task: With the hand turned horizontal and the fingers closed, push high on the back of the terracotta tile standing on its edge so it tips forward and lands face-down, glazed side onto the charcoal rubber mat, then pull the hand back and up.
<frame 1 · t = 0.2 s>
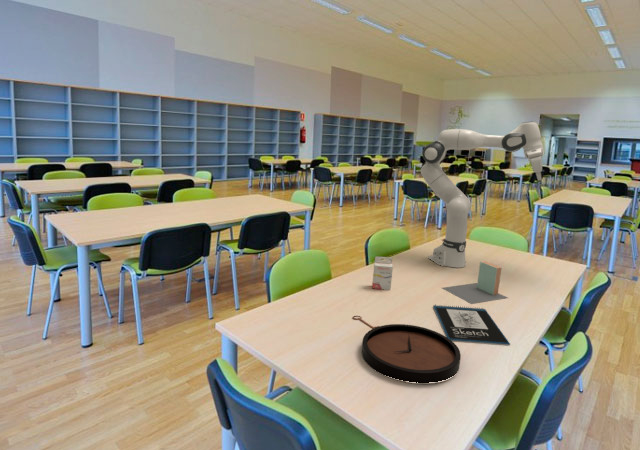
hand: (539, 179, 210), 52 cm above the table, tool tilted 20°, fingers open, 8 cm apart
tile: (487, 290, 196), point 1 cm above the table, touching mat
sketchbook: (467, 325, 161), on the table
mat: (473, 293, 193), on the table
key: (368, 324, 158), on the table
wall clock: (409, 357, 136), on the table
ink cartridge box: (381, 288, 196), on the table
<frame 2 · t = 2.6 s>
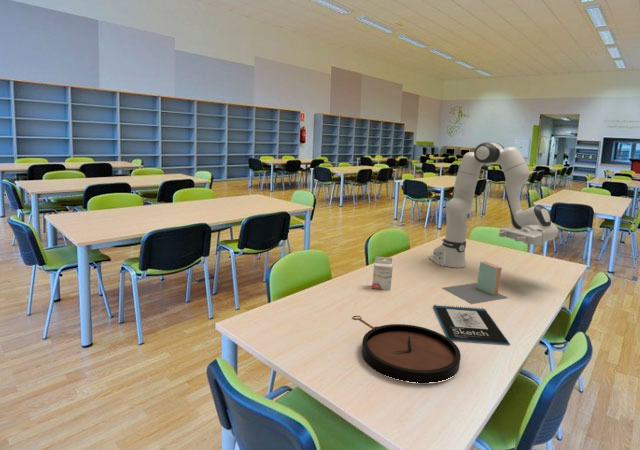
hand: (507, 237, 194), 26 cm above the table, tool horizontal, fingers open, 8 cm apart
nothing on the table moved.
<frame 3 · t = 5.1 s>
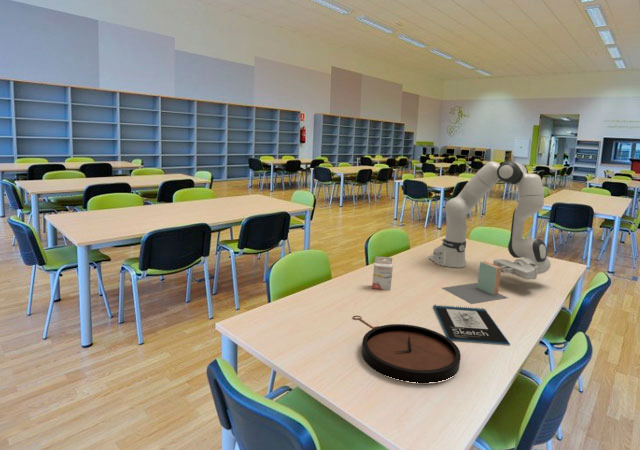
hand: (501, 270, 197), 10 cm above the table, tool horizontal, fingers closed
nothing on the table moved.
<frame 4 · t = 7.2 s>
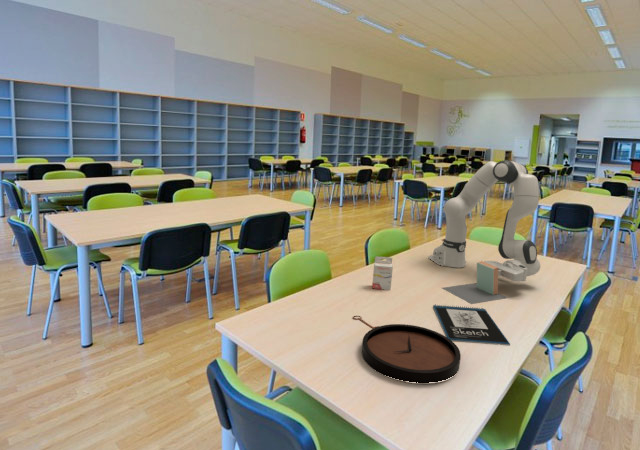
hand: (490, 271, 194), 10 cm above the table, tool horizontal, fingers closed
tile: (487, 290, 196), point 1 cm above the table, tilted 9°, touching gripper, mat
everything else where it was.
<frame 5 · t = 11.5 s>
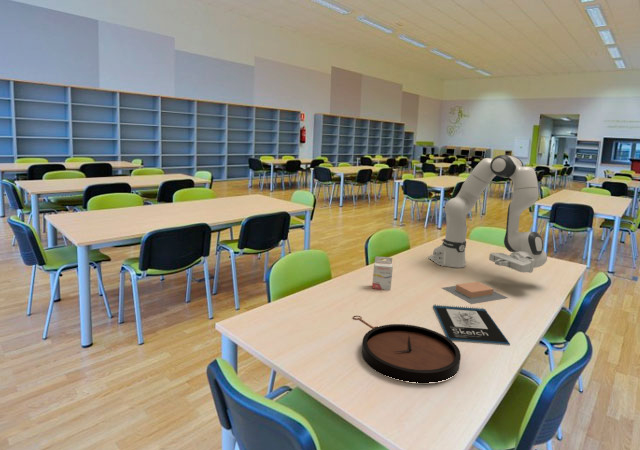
hand: (497, 263, 195), 14 cm above the table, tool horizontal, fingers closed
tile: (484, 288, 195), point 2 cm above the table, tilted 90°, touching mat
everything else where it was.
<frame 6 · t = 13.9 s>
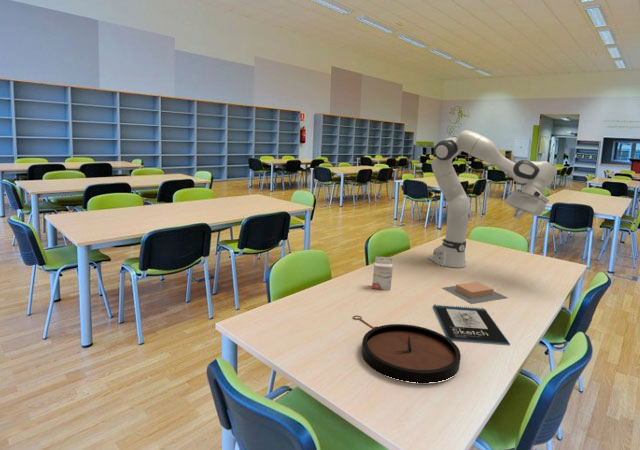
hand: (515, 217, 202), 34 cm above the table, tool tilted 30°, fingers closed
nothing on the table moved.
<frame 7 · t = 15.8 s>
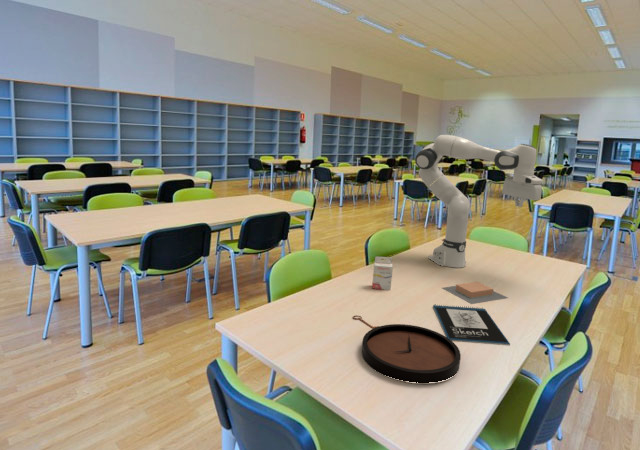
hand: (518, 206, 204), 39 cm above the table, tool pointing down, fingers closed
nothing on the table moved.
at the end: tile tilted 90°; tile touching mat; tile inside the target area (0.3 cm from its centre), point 2.1 cm above the table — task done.
